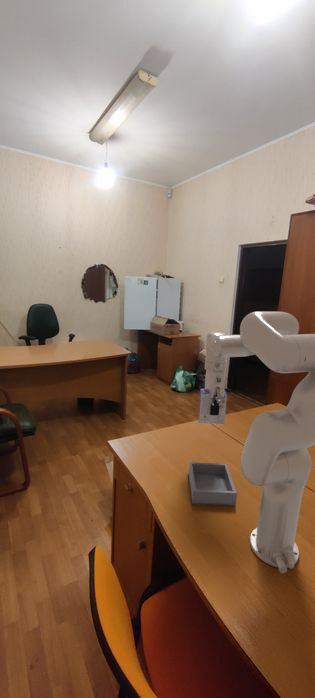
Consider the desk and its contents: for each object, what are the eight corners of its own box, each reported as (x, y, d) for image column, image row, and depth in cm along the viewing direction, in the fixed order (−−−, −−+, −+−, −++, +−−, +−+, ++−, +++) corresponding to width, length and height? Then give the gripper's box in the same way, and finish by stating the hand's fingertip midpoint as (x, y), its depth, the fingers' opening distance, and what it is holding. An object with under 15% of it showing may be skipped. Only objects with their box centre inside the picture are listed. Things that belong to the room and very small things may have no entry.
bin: (235, 506, 97) (236, 493, 96) (192, 504, 98) (193, 491, 96) (225, 475, 113) (226, 463, 112) (188, 473, 113) (189, 462, 112)
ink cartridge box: (222, 418, 118) (226, 383, 114) (225, 425, 112) (228, 388, 109) (197, 417, 118) (199, 382, 115) (198, 423, 113) (201, 387, 109)
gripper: (233, 372, 103) (228, 421, 106) (217, 359, 119) (214, 402, 123) (212, 372, 102) (208, 421, 105) (199, 359, 118) (196, 402, 122)
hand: (211, 410), depth 114 cm, fingers closed on ink cartridge box, 5 cm apart
